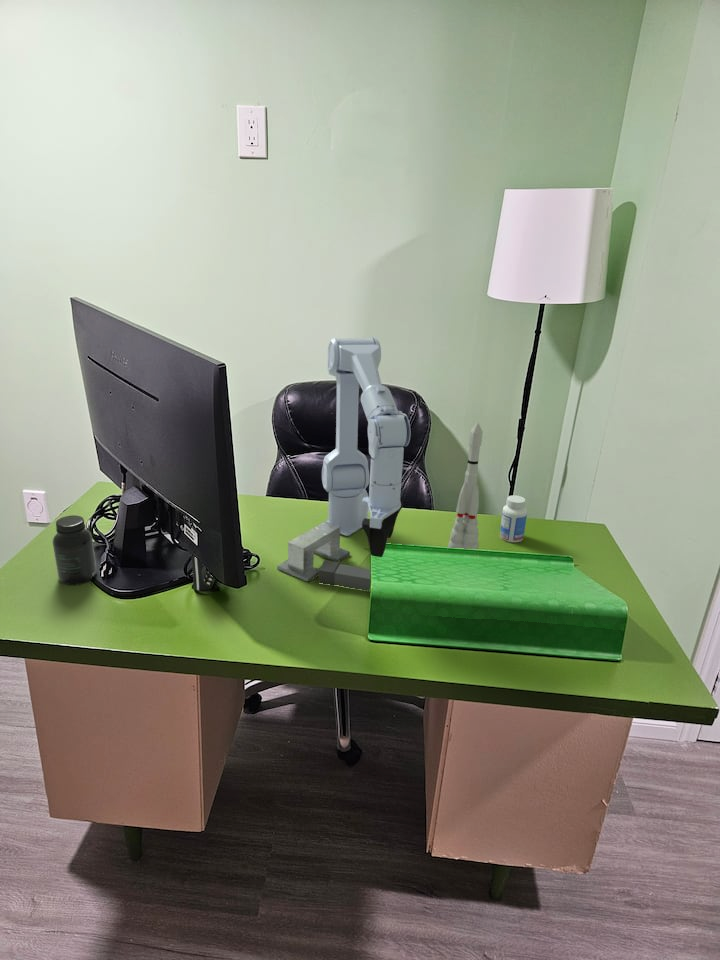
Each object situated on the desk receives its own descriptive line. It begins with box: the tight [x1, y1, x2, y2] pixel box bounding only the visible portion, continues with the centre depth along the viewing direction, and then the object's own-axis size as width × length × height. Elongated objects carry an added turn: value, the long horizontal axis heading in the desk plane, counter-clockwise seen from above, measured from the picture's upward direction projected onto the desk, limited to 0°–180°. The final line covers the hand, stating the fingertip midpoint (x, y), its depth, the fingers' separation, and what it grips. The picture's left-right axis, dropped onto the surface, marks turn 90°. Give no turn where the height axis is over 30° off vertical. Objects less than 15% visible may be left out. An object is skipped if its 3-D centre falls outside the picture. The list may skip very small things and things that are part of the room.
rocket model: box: [447, 422, 484, 550], centre depth 130 cm, size 7×7×30 cm
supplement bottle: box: [52, 514, 97, 586], centre depth 120 cm, size 7×7×12 cm
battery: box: [190, 554, 216, 591], centre depth 120 cm, size 7×4×11 cm, turn 177°
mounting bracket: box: [276, 520, 351, 582], centre depth 130 cm, size 14×8×6 cm, turn 145°
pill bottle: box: [499, 494, 528, 543], centre depth 143 cm, size 6×5×10 cm
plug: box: [318, 559, 371, 591], centre depth 123 cm, size 4×16×3 cm, turn 76°
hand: (381, 545), depth 119 cm, fingers open, 7 cm apart
